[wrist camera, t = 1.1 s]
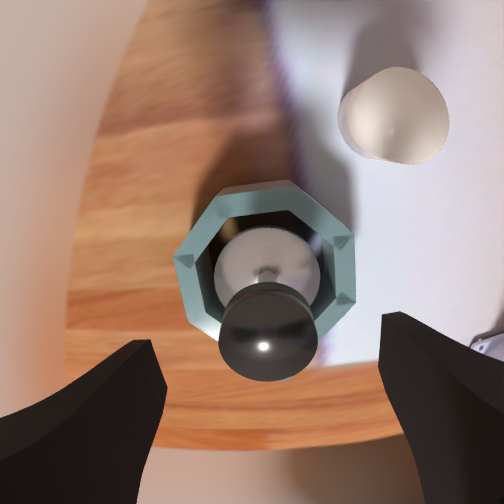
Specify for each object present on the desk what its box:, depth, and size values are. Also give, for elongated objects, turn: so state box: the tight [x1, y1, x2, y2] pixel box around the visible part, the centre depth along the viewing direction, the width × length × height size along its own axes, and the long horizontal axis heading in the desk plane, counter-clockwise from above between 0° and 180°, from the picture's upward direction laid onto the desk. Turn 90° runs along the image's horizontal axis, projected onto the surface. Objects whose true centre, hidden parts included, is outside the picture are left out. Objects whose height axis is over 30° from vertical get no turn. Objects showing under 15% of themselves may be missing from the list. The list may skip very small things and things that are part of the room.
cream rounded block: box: [338, 67, 449, 164], centre depth 14 cm, size 4×4×4 cm
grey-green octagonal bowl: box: [173, 179, 356, 382], centre depth 17 cm, size 8×10×4 cm
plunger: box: [214, 225, 320, 382], centre depth 13 cm, size 5×5×6 cm
